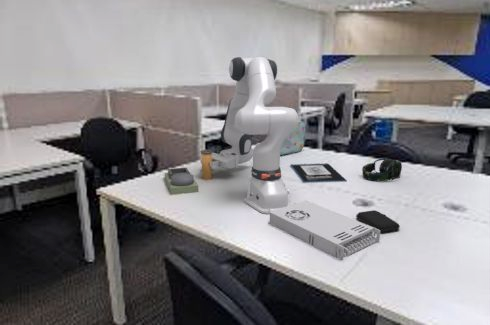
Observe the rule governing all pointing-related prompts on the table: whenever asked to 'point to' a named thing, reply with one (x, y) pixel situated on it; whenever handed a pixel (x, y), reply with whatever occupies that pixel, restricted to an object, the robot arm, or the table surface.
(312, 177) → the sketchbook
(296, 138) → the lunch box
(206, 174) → the orange pill bottle
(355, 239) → the power supply unit
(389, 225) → the carrying case or bag
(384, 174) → the headphones
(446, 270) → the table surface
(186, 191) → the green slab
